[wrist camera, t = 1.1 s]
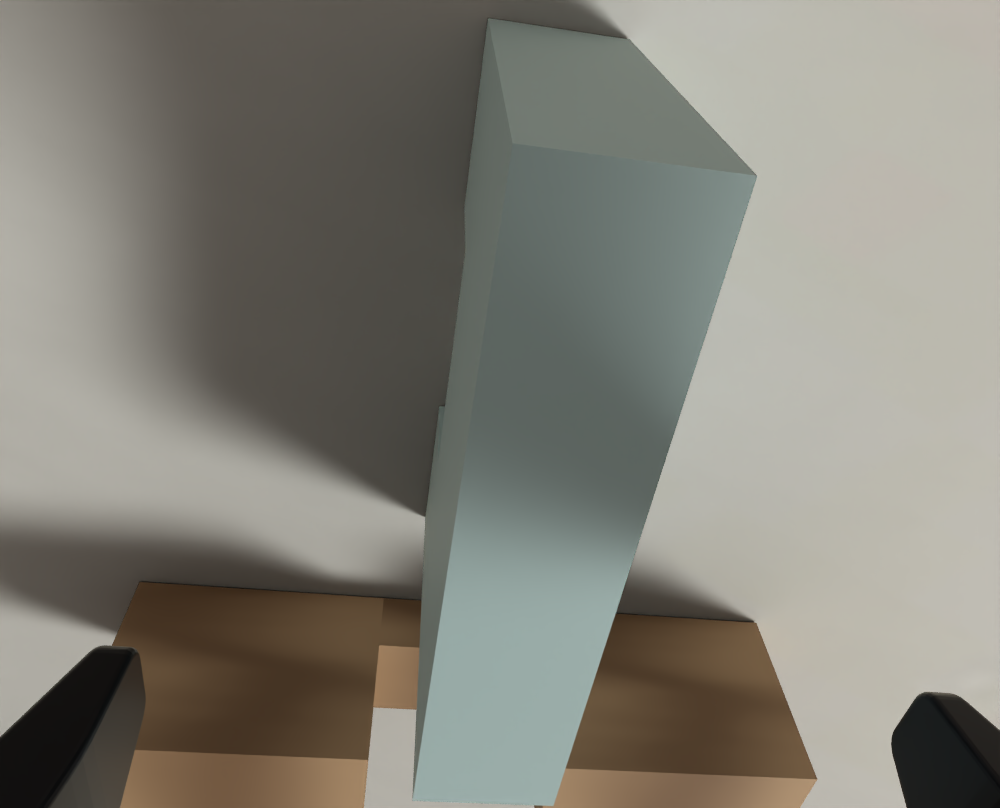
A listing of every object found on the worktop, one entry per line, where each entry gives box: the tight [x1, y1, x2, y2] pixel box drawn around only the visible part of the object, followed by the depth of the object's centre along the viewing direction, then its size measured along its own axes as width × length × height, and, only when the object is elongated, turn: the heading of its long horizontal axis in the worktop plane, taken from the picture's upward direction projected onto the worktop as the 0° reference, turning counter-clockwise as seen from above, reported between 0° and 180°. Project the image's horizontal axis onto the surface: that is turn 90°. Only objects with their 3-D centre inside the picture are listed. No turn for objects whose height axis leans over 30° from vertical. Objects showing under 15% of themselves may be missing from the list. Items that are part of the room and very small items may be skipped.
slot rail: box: [112, 582, 817, 808], centre depth 20 cm, size 16×2×4 cm, turn 82°
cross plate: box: [412, 18, 757, 806], centre depth 14 cm, size 2×11×7 cm, turn 172°
